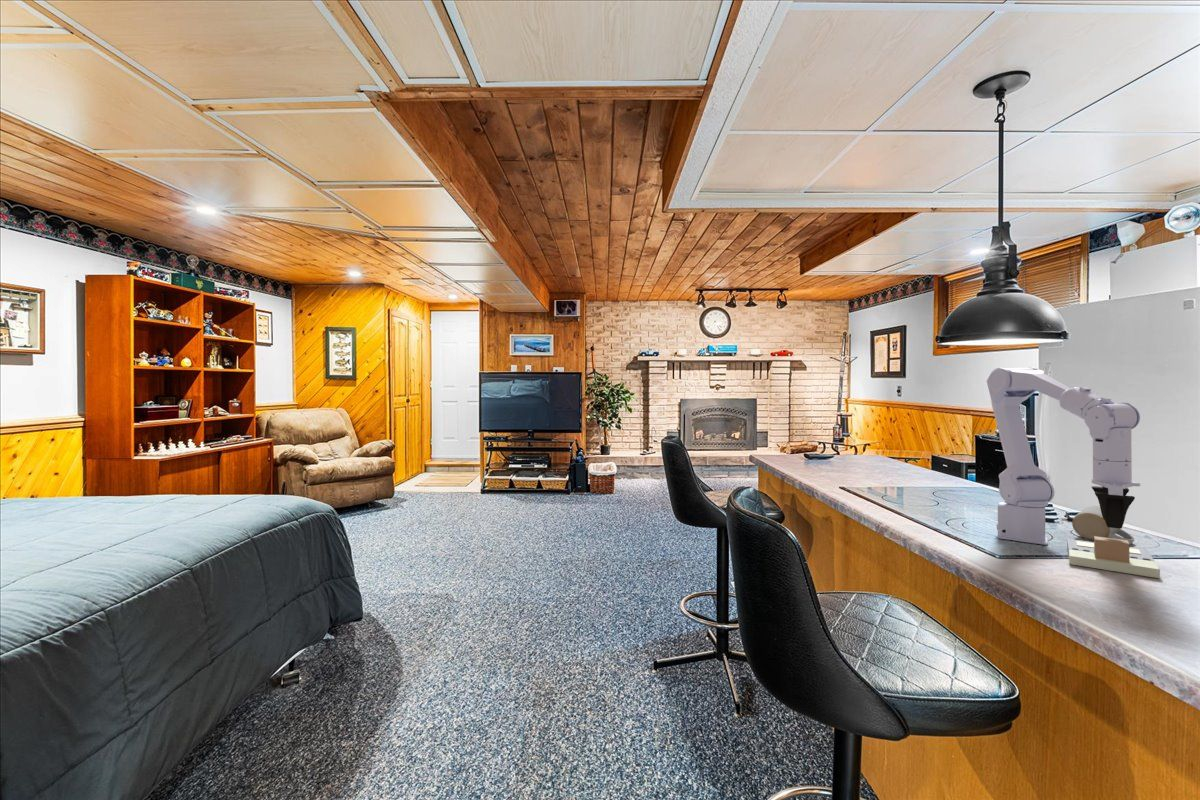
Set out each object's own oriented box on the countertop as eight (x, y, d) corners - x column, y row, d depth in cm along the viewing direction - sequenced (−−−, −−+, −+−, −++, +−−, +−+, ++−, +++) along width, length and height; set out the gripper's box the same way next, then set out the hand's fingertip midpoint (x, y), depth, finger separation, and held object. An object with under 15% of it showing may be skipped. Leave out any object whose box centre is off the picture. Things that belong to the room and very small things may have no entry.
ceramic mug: (1070, 537, 126) (1070, 507, 126) (1079, 532, 130) (1079, 503, 130) (1130, 548, 117) (1130, 516, 117) (1137, 542, 122) (1138, 511, 121)
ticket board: (1068, 557, 111) (1068, 547, 111) (1067, 546, 118) (1067, 537, 118) (1154, 570, 102) (1154, 560, 102) (1147, 558, 110) (1147, 548, 110)
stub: (1069, 564, 106) (1069, 537, 106) (1068, 556, 111) (1068, 531, 111) (1159, 578, 98) (1159, 549, 98) (1154, 570, 102) (1154, 542, 102)
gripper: (1145, 465, 96) (1145, 534, 96) (1134, 457, 107) (1135, 519, 107) (1094, 462, 101) (1094, 528, 101) (1089, 455, 111) (1089, 515, 112)
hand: (1112, 523), depth 104 cm, fingers open, 7 cm apart
